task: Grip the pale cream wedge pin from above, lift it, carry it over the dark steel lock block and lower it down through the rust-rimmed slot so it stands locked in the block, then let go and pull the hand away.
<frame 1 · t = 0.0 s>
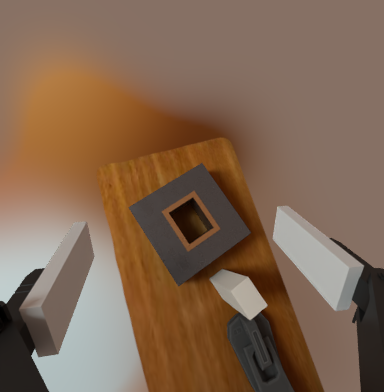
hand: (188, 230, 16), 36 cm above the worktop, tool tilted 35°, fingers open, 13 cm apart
wedge pin: (222, 283, 50), on the worktop
zipper pull: (263, 372, 47), on the worktop
lock block: (187, 223, 52), on the worktop
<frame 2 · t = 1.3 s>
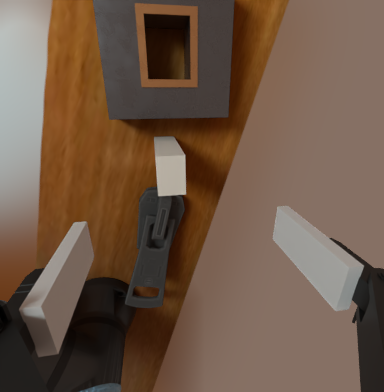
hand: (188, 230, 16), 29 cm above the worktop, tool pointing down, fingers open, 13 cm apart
wedge pin: (164, 150, 42), on the worktop
zipper pull: (153, 239, 50), on the worktop
lock block: (165, 56, 37), on the worktop
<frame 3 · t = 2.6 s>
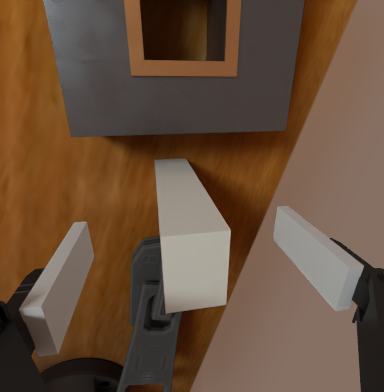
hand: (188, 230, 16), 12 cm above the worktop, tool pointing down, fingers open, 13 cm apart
wedge pin: (171, 180, 27), on the worktop
zipper pull: (154, 306, 34), on the worktop
lock block: (175, 25, 21), on the worktop
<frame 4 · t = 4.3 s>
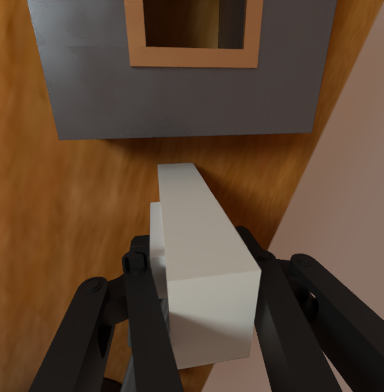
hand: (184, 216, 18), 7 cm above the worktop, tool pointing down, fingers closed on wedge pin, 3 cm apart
wedge pin: (176, 186, 24), on the worktop, touching gripper
zipper pull: (155, 324, 31), on the worktop
lock block: (182, 9, 18), on the worktop
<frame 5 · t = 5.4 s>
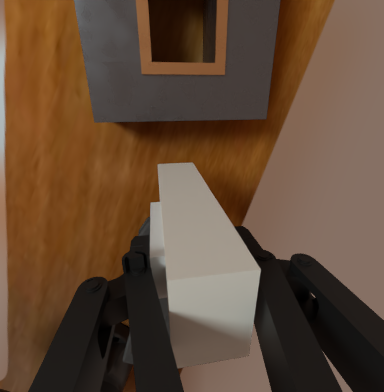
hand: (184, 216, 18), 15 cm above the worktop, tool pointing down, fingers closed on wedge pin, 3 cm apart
wedge pin: (176, 186, 24), point 9 cm above the worktop, touching gripper
zipper pull: (158, 277, 40), on the worktop
lock block: (177, 31, 26), on the worktop
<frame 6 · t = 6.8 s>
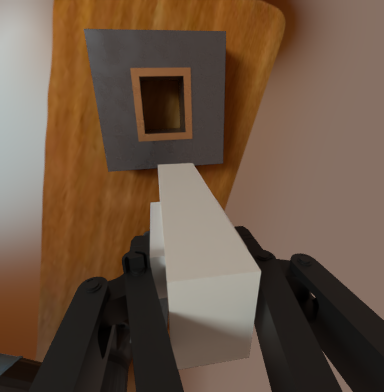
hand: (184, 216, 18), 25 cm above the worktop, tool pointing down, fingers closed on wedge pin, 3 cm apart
wedge pin: (176, 187, 24), point 19 cm above the worktop, touching gripper
lock block: (161, 105, 38), on the worktop
when the fingers open (8 cm above the worktop, at t = 10.4 s): wedge pin drops 1 cm, resting in lock block.
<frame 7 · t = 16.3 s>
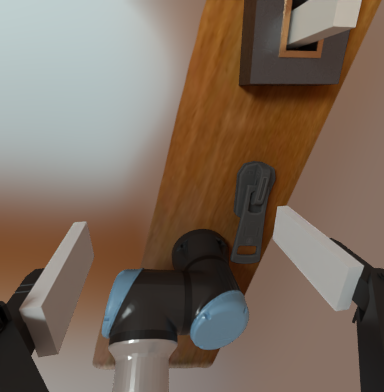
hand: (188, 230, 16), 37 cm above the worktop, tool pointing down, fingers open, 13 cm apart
wedge pin: (285, 34, 45), resting in lock block
zipper pull: (245, 208, 59), on the worktop
lock block: (285, 34, 45), on the worktop
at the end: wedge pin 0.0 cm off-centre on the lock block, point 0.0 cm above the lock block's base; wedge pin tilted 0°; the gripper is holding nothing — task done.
